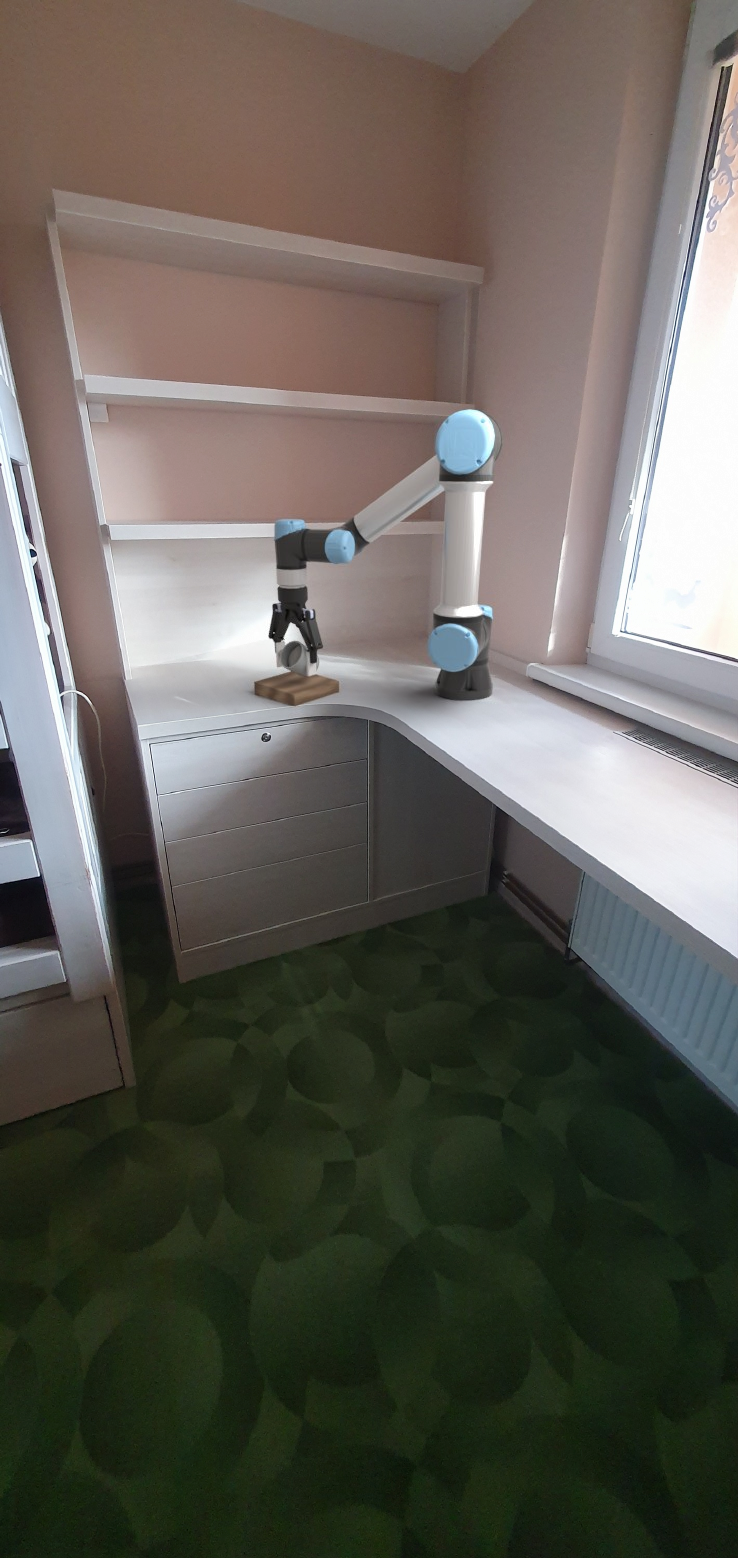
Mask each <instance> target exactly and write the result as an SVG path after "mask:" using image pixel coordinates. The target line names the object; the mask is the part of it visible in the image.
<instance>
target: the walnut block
mask: <svg viewBox="0 0 738 1558" xmlns="http://www.w3.org/2000/svg"><path fill="white" fill-rule="evenodd" d="M253 684H254V685H253V686H254V695H255V696H258V697H262V698H266V699H268V700H271V701H275V702H279V703H283V704H284V705H285V704H286V705H289V706H292V707H297V706H300V705H304V704H307V703H309V702H313V701H316V700H318V699H323V698H324V697H328V696H331V695H334V694H337V693H339V692H340V681H339V680H337V679H335V678H334V679H333V678H330V677H326V676H323V675H320V674H317V673H316V674H315V675H312V676H309V677H303V676H300V675H298V674H296V673H294V672H292V671H290V670H289V671H288V672H284V673H281V674H278V675H273V676H270V677H266V678H263V679H260V680H256V681H254V682H253Z"/></svg>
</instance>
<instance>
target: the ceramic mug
mask: <svg viewBox="0 0 738 1558" xmlns="http://www.w3.org/2000/svg"><path fill="white" fill-rule="evenodd" d="M307 650H308V648H307V646H306V644H303V643H302V642H301V641H298V640H291V641H289V642H287V643H285V647H284V648H283V649H281V650H280V652H279V656H280V662H281V665H282V668H284V669H286V670H288V671H289V672H290V671H292V672H294V673H296V674H298V675H300V676H303V677H309V676H307V669H306V651H307ZM319 665H320V659H319V656H318V655H317V663H316V672H317V670H318V668H319Z"/></svg>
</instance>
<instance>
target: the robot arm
mask: <svg viewBox="0 0 738 1558" xmlns="http://www.w3.org/2000/svg"><path fill="white" fill-rule="evenodd" d="M434 444H435V445H434V446H435V449H434V450H435V455H434V456H433V457H431V458H430V459H429V460H426V462H425V463H423V464H422V465H421V466H419V467H418V468H416V469H415V470H414V471H412V472H411V473H410V474H409V475H407V476H406V477H405V478H403V479H402V480H400V481H399V482H398V483H397V484H395V485H394V486H393V487H392V488H391V487H390V488H389V490H387V491H386V492H384V494H382V495H380V497H378V498H377V499H376V500H374V501H372V503H370V504H368V506H366V507H365V508H364V509H362V510H361V511H359V512H358V513H357V514H356V515H354V516H353V517H352V518H350V519H349V520H348V521H346V522H344V523H343V524H342V525H340V526H337V527H332V528H329V529H328V528H327V529H322V528H321V529H319V528H318V529H314V528H306V522H305V520H303V519H299V518H281V519H277V520H276V521H275V523H274V538H273V541H274V549H275V551H274V552H275V562H276V563H275V567H276V568H275V570H276V572H275V573H276V584H277V585H278V587H277V600H278V602H277V603H272V607H271V608H272V609H271V610H272V612H271V613H272V615H271V620H270V625H269V630H268V639H269V640H272V641H273V643H274V652H275V654H276V656H275V657H276V667H277V668H281V667H282V668H283V666H282V665H281V662H280V656H279V652H280V650H281V649H283V648H284V647H285V645H286V641H285V635H286V633H287V631H288V629H289V626H290V624H291V623H292V625H295V626H296V628H298V630H299V632H300V635H301V637H302V639H303V641H304V645H305V646H306V647H307V648H308V650H307V651H306V669H307V676H312V675H315V674H317V671H316V663H317V656H318V650H320V649H321V650H322V649H323V648H324V645H323V641H322V637H321V634H320V630H319V626H318V623H317V619H316V615H317V614H316V610H315V608H313V609H307V606H306V604H307V602H308V599H309V598H308V597H309V595H308V593H309V592H308V591H309V590H308V587H307V584H308V574H307V573H308V571H307V567H308V566H307V565H308V564H307V562H308V563H327V564H334V565H339V564H349V563H350V562H352V560H353V558H354V556H357V555H358V554H360V553H361V552H363V550H364V549H365V548H366V547H367V546H368V545H370V544H371V543H373V542H374V541H375V540H376V539H379V537H382V535H383V534H385V533H386V532H388V531H389V530H390V529H392V528H393V527H394V526H396V525H398V524H399V523H400V522H402V521H404V520H405V519H407V518H408V517H409V516H410V515H412V514H413V513H415V512H416V511H418V509H420V508H421V507H423V506H425V505H426V504H427V503H428V502H430V501H432V500H433V499H434V498H436V497H437V496H438V495H440V494H441V493H442V492H445V497H444V498H445V499H444V517H443V540H442V541H443V543H442V556H441V558H442V560H441V561H442V563H441V578H440V579H441V581H440V582H441V583H440V584H441V585H440V600H439V601H440V603H439V604H438V605H437V606H436V607H435V608H434V609H433V611H432V612H433V614H432V615H433V616H432V631H431V633H430V634H429V636H428V640H427V646H426V647H427V654H428V656H429V658H430V660H431V662H433V664H434V665H435V666H436V667H438V668H439V669H440V671H439V673H438V676H437V678H436V681H435V688H434V689H435V690H434V692H435V694H437V695H438V696H440V697H442V698H445V699H449V700H454V701H461V702H462V701H465V702H467V701H479V700H484V699H488V698H490V697H491V696H492V695H493V689H494V685H493V680H492V676H491V672H490V671H491V670H490V667H489V658H490V646H491V635H492V625H493V621H494V617H493V608H492V607H491V606H489V605H485V604H479V603H478V602H479V601H478V600H479V587H480V586H479V585H480V575H481V574H480V572H481V560H482V559H481V558H482V548H483V547H482V546H483V544H482V543H483V533H484V532H483V531H484V518H485V505H486V504H485V503H486V493H487V490H488V489H489V488H490V487H491V486H492V485H493V484H494V479H495V467H496V462H497V461H498V459H499V457H500V455H501V453H502V450H503V446H504V436H503V431H502V429H501V426H500V425H499V423H498V421H497V420H496V419H495V418H494V417H492V416H490V414H489V415H488V414H487V413H483V412H482V411H479V410H477V409H470V408H469V409H464V410H459V411H456V412H454V413H452V414H450V415H449V416H448V417H447V418H446V419H445V420H444V421H443V422H442V424H441V425H440V426H439V429H438V431H437V433H436V437H435V443H434Z"/></svg>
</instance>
